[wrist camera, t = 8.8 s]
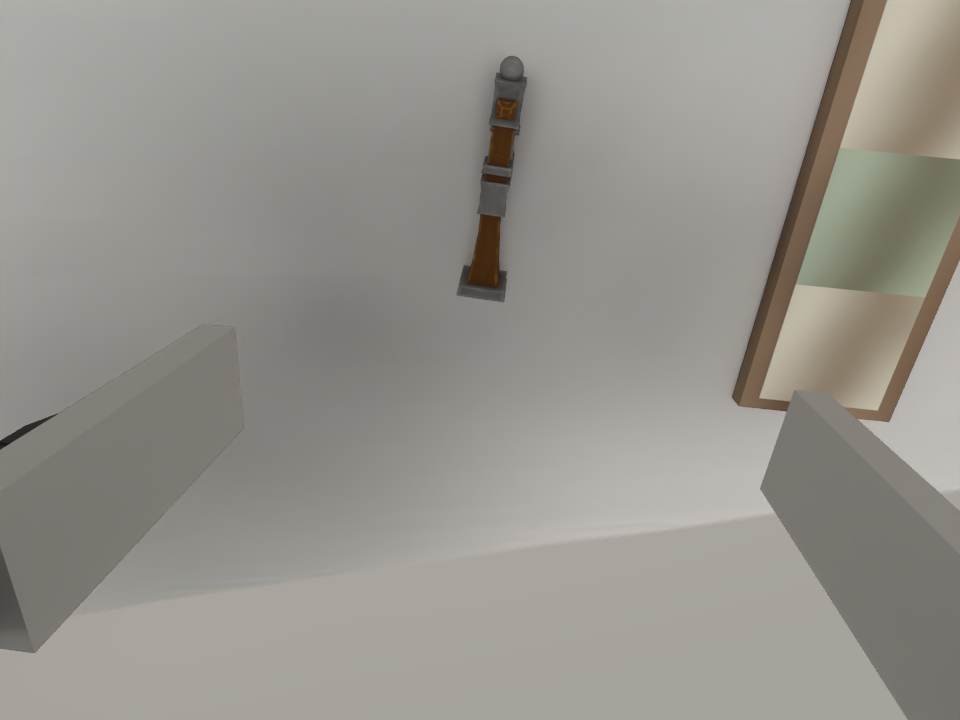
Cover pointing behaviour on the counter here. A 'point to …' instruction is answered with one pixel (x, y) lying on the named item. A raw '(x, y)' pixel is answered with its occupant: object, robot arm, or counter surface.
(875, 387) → the board
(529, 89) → the counter surface
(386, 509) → the counter surface
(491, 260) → the lantern lamp post
